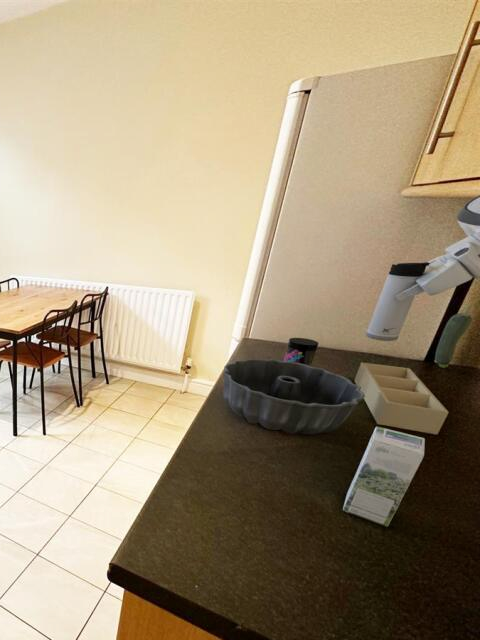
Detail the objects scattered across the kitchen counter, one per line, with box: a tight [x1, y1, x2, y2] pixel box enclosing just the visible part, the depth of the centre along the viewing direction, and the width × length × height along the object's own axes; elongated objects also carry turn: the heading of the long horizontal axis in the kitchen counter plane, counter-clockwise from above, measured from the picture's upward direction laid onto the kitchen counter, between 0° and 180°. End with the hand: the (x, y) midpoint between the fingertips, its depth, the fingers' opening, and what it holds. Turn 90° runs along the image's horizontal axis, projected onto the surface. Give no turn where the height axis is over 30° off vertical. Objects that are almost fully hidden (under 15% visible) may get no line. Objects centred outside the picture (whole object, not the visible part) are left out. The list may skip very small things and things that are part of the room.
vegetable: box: [434, 300, 479, 369], centre depth 120 cm, size 4×4×20 cm
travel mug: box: [365, 261, 430, 342], centre depth 107 cm, size 6×7×20 cm
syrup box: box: [342, 426, 426, 528], centre depth 66 cm, size 6×6×14 cm
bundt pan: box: [222, 358, 365, 436], centre depth 97 cm, size 26×26×10 cm
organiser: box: [354, 362, 449, 435], centre depth 102 cm, size 10×28×6 cm, turn 148°
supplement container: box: [282, 337, 319, 367], centre depth 119 cm, size 7×7×10 cm
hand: (394, 295), depth 107 cm, fingers closed on travel mug, 6 cm apart
